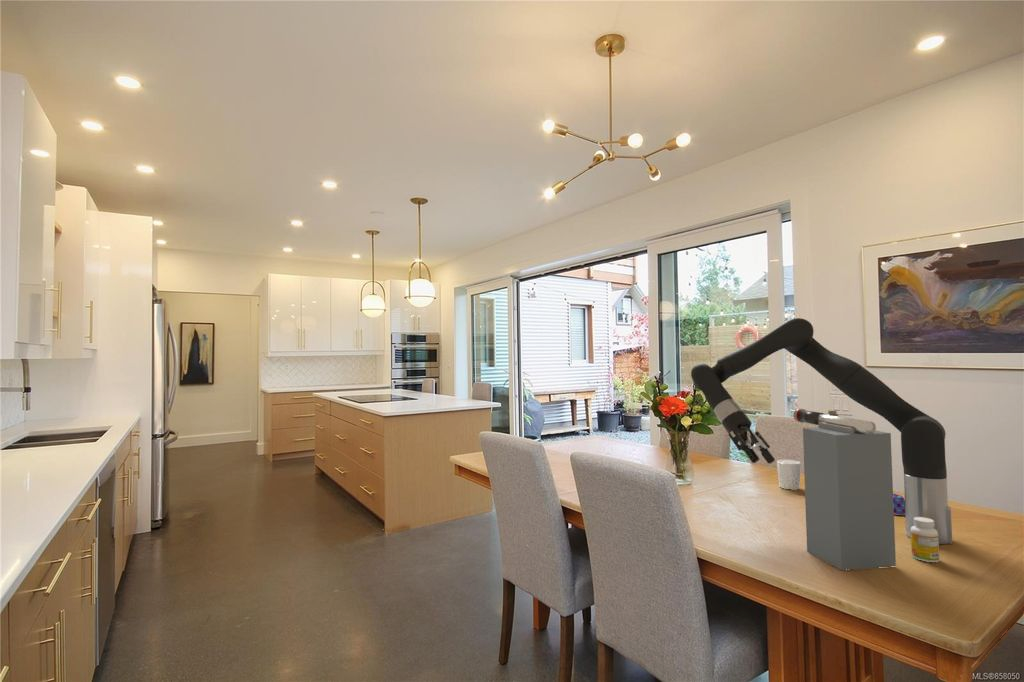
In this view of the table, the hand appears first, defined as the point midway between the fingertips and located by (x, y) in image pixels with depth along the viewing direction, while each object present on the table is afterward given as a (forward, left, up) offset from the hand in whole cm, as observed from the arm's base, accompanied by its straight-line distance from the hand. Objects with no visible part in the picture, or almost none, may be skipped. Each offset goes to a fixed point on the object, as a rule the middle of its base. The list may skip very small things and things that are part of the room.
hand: (764, 461), depth 147 cm
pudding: (-38, -36, -21) cm, 56 cm away
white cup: (-10, -55, -20) cm, 59 cm away
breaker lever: (-16, +10, +12) cm, 22 cm away
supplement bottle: (-35, +7, -20) cm, 41 cm away
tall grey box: (-18, +14, -20) cm, 30 cm away
